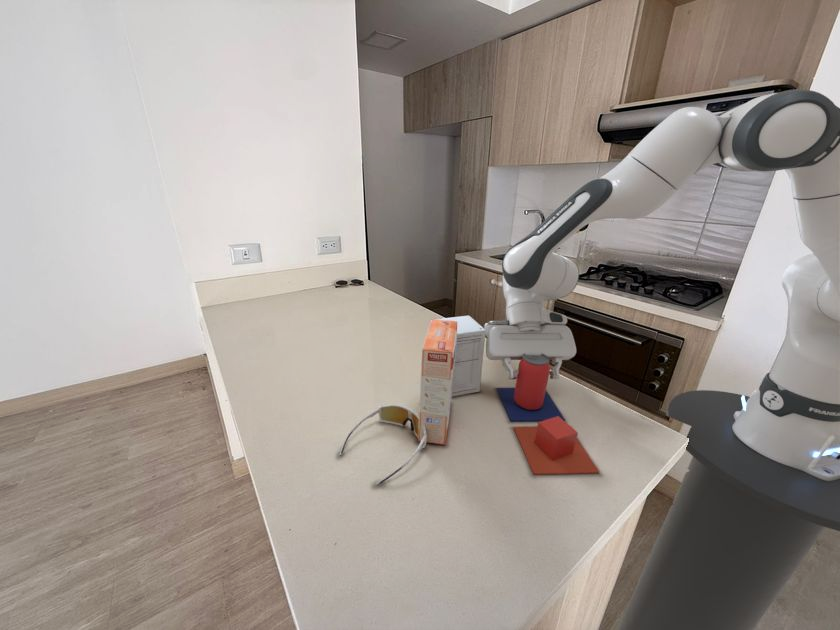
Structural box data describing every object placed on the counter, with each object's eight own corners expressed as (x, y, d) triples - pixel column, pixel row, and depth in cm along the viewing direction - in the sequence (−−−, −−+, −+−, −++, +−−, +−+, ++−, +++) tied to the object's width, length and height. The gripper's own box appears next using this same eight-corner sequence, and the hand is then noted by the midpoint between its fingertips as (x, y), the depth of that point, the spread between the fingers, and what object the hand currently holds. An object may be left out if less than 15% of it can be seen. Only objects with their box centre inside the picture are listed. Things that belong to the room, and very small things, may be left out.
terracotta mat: (568, 427, 72) (569, 426, 72) (599, 473, 61) (599, 472, 61) (513, 428, 72) (513, 426, 71) (533, 474, 60) (533, 473, 60)
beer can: (514, 391, 83) (521, 348, 78) (542, 397, 81) (551, 353, 77) (512, 407, 77) (519, 361, 72) (543, 414, 75) (552, 367, 71)
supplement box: (464, 372, 91) (470, 314, 85) (480, 392, 83) (487, 329, 77) (431, 377, 88) (434, 318, 82) (444, 398, 80) (448, 334, 74)
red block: (553, 435, 69) (558, 415, 67) (572, 453, 65) (578, 432, 63) (534, 442, 67) (538, 421, 65) (552, 460, 63) (557, 439, 61)
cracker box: (447, 446, 66) (454, 351, 58) (416, 442, 67) (419, 348, 59) (452, 402, 79) (458, 319, 71) (426, 399, 80) (430, 317, 72)
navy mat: (543, 389, 85) (544, 387, 85) (564, 421, 74) (565, 419, 74) (496, 389, 84) (496, 387, 84) (510, 421, 73) (510, 420, 73)
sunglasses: (440, 442, 67) (439, 423, 65) (386, 500, 57) (382, 481, 55) (388, 411, 75) (386, 393, 73) (334, 457, 65) (329, 439, 63)
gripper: (485, 315, 78) (491, 375, 72) (573, 316, 79) (585, 375, 73) (480, 325, 83) (484, 381, 78) (561, 325, 85) (571, 381, 79)
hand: (534, 378), depth 76 cm, fingers open, 8 cm apart
